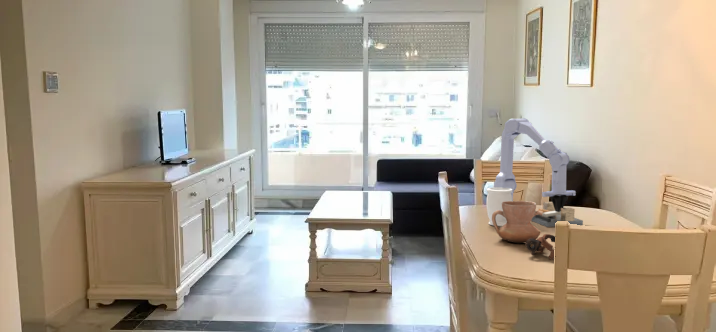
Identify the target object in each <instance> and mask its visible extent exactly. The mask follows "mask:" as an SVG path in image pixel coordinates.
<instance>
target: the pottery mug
mask: <svg viewBox="0 0 716 332" xmlns="http://www.w3.org/2000/svg"><path fill="white" fill-rule="evenodd" d="M555 237H556V235H554V234H551V233H550V234H549V233H545V234H543V235H542V236H539V237H538V238H537V239H536V240H535V239H528V240H527V241H526V243H525V247H526V249H527V250H528V252H530V253H531V255H536V252H538V253H544V251H545V249H546V250H547V251H548V252H550V254H549V256H548V258H549V259H550V260H551V261H553V260H554V259H555V258H554V250H555V248H554V249H553V247H554V245H552V244H551V243H555ZM548 239H549V240H550V242H551V243H550V242H548V241H547V240H548ZM531 245H532V246H531Z"/></svg>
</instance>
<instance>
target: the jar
mask: <svg viewBox="0 0 716 332" xmlns="http://www.w3.org/2000/svg"><path fill="white" fill-rule="evenodd" d="M486 192H487V195H486V212H487V217H488V219H489V221H488V225H491V226H493V227H495V226H494V225H493V222H492V214H493V213H494V212H495V211H497V210H500V211H503V209H502V202H505V201H512V196H511V192H512V189H510V188H502V187H494V186H493V187H488V188H486ZM496 223H497V226H498V227H502V226H503V225H505V224H506V223H507V220H506V218H505V217H503V216H502V215H500V214H497V215H496Z"/></svg>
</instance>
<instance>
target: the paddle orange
mask: <svg viewBox="0 0 716 332" xmlns="http://www.w3.org/2000/svg"><path fill="white" fill-rule="evenodd" d="M537 211H542V212H543V213H544V212H550V211H548V210H543V208H538V210H537ZM555 216H556V215H555Z"/></svg>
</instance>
